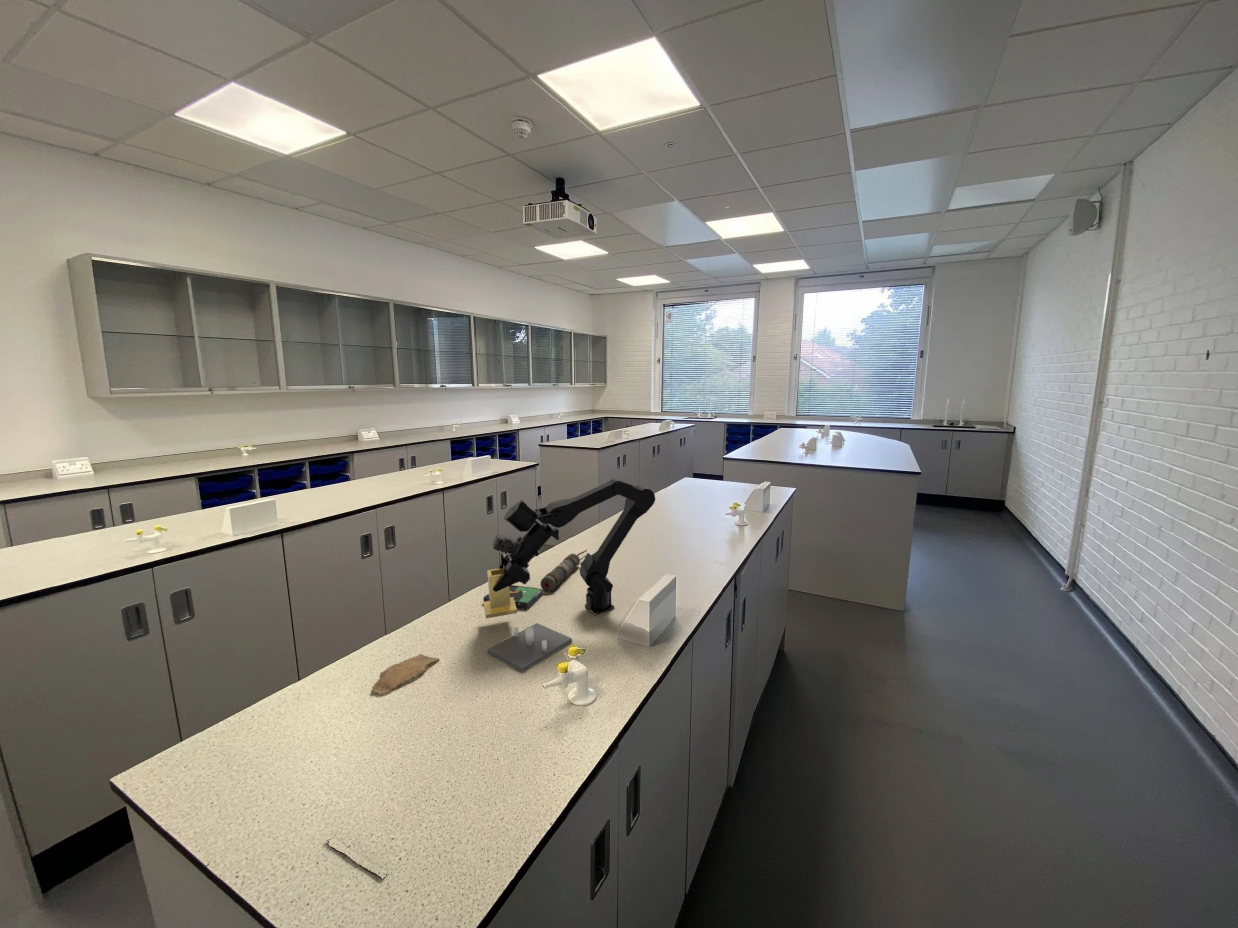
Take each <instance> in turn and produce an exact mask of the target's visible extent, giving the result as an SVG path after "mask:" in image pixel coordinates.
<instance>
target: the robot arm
mask: <svg viewBox="0 0 1238 928" xmlns="http://www.w3.org/2000/svg"><path fill="white" fill-rule="evenodd" d="M616 496H621V497H624V498H625V502H624V507H623V510H622V512H621V514H620V515H619V517H618V518H617V520H616V521H615V522H614V523H613V526H612V528H611V529H610V530H609V532H608V534H607V535H606V536H605V538H604V540H603V541H602V543H601V544H600V546H599V547H598V549H597V551H595V552H594V553H593V554H590V553H589V552H587V553H586V555H585V557H584V559H583V560H582V562H581V561H580V564H579V565H580V567H579V575H580V577H581V578H582V580H583V581H584V582H585V584H586V586H588V587H587V588H586V591H587V592H586V594H585V604H584V607H585V608H587V609H588V610H589V611H590V612H591V613H593V614H594V615H598V614H602V613H605V612H608V611H611V610H613V609H615V605H613V604H612V589H613V586H614V585H613V583H612V582H611V581H610V580H609V578H608V577H607V575H608V573H609V570H610V565H611V564H610V563H611V560H612V559H613V557H614V556H615V554H616V553H617V552H618V550H619V548H620V547H621V545H622V544H623V542H624V541H625V539H626V537H627V536H628V534H629V533H630V531H631V530H632V527H634V525H635V523H636V521H637V520H638V519H639V518H641V517H642V516H644V514H647V512H648V511H650V509H651V508H652V507H653V505H654V504H655V503H656V495H655V492H654V491H653V490H652V489H650V488H648V487H646V486H644V485H643V484H636V485H633V484H630V483H628V482H625V481H622V480H620V479H619V478H611V479H610V480H609V481H607V482H605V483H602V484H601V485H598V486H595V487H594V488H592V489H590V490H588V491H585V492H583V493H581V494H579V495H577V496H575V497H571V498H566V499H560V500H557V501H552V502H550V503H548V504H547V505H546V506H545V507H544V506H543V507H541V508H540V507H539V508H536V509H533V508H531V507H530V506H529V505H528V504H527V503H526V502H525V501H524V500H523V499H521V500H520V499H519V502H517V503H515V504H514V505H512V506H510V508H509V509H508V510H507V511H506V513H505V515H504V517H503V520H504V521H506V522H507V523H508V524H509V525H510V526H512V527H514V529H515V530H517V531H519V532H520V533H523V532H524V533H525V534H524V535H523V536H522V535H521V536H518V537H517V538H512V537H510V536H507V535H504V534H499V533H496V535H495V537H494V540H493V542H492V546H493V547H492V548H493V550H495V551H498V552H501V553H499V557H500V563H499V564H498V567H497V569H500V568H503V570H504V572H503V574H502V576H501V577H500V579H499V580H498V582H497V583H496V585H495V586H494V588H493V591H495V592H497V591H499V590H501V589H504V588H506V587H508V586H510V585H515V584H517V583H521V584H523V585H527V583H528V582H529V581H530V580H531V572H530V571H529V569H528V568H529V566H530V564H529V563H530V562H531V560H533V558H535V557H538V556H539V555H540V550H541V549H542V548H543V547H544V545H546V544H547V542H548V541H549V540H550V539H551V538H553V539H555V540H556V541H559V540H560V536H559V535H560V534H559V532H560V530H559V529H560V528H562V527H564V526H566V525H568V524H569V523H570V522H572V521H573V520H574V519H576V517H577V516H578V515H579V514H581V513H582V512H584V511H586V510H588V509H591V508H593V507H595V506H597V505H599V504H601V503H604V502H606V501H607V500H610V499H612V498H614V497H616Z"/></svg>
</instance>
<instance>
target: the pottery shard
mask: <svg viewBox="0 0 1238 928" xmlns="http://www.w3.org/2000/svg"><path fill="white" fill-rule="evenodd" d="M439 662H440V658H438V657H433V656H432V657H431V656H428V655H427V656H426V655H424V654H422V653H419V654H417V656H413V657H409V658H406V659H404V660H402V661H400V662H398V663H395V664H392V665H390V666H388V667H386V669H384V670H383V671H382V672H380V674H379V679H378V681H377V682H375V683H374V684H373V686H372V689H371V692H372V694H374V695H377V696H384V695H385V696H387V695H389V694H391V693H393V692H395V691H396V690H397V689H398V690H399V689H400V688H402V687H403V686H406V685H408V684H410V683H412V682H413V681H415V680H416V679H418V678H420V677H421V676H422V675H423V674H424V673H425V672H427V671H428V670H429V669H430V668H432V667H433V666H436V664H438V663H439Z"/></svg>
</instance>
